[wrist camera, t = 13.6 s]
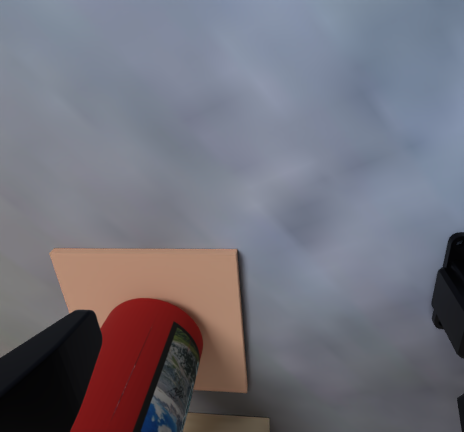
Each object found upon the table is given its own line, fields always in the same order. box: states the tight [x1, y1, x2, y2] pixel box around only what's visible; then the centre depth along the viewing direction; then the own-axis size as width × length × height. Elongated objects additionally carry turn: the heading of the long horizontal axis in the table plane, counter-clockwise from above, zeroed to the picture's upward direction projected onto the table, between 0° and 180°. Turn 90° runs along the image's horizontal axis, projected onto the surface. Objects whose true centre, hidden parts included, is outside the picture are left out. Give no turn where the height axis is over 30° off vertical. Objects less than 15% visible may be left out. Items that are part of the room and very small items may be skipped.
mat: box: [49, 248, 248, 393], centre depth 26 cm, size 12×12×1 cm
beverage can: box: [70, 298, 203, 432], centre depth 21 cm, size 7×7×12 cm
